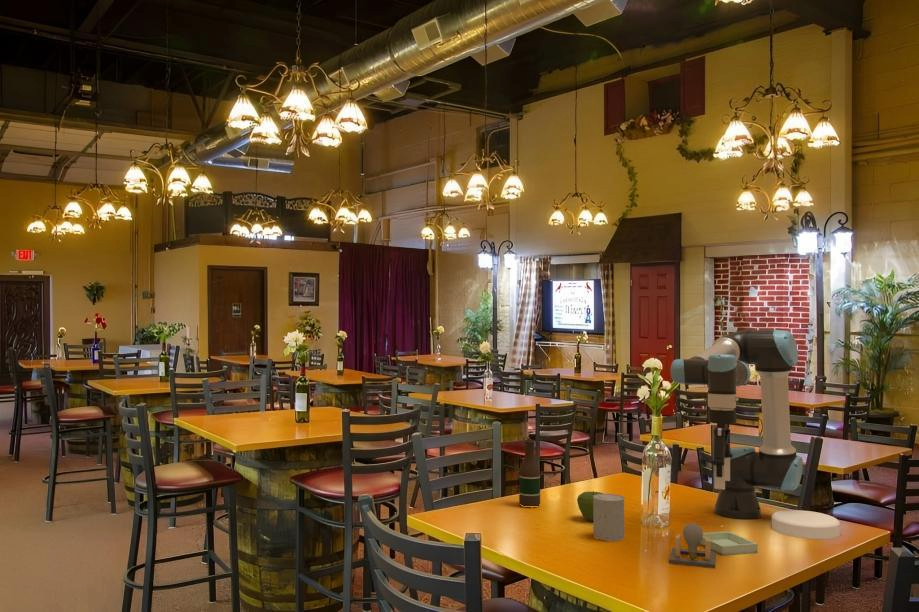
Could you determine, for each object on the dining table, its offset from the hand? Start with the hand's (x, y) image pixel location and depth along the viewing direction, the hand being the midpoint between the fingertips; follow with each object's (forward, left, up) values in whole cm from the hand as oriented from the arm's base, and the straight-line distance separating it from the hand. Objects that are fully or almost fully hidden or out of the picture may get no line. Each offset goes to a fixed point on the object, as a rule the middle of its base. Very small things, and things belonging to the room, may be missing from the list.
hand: (722, 484), depth 206 cm
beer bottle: (-71, -32, -21) cm, 81 cm away
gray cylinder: (-27, -22, -21) cm, 41 cm away
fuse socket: (-1, -9, -21) cm, 22 cm away
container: (-19, +43, -21) cm, 52 cm away
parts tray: (-9, +7, -21) cm, 24 cm away
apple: (-48, -18, -21) cm, 55 cm away
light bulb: (-1, -9, -21) cm, 23 cm away
